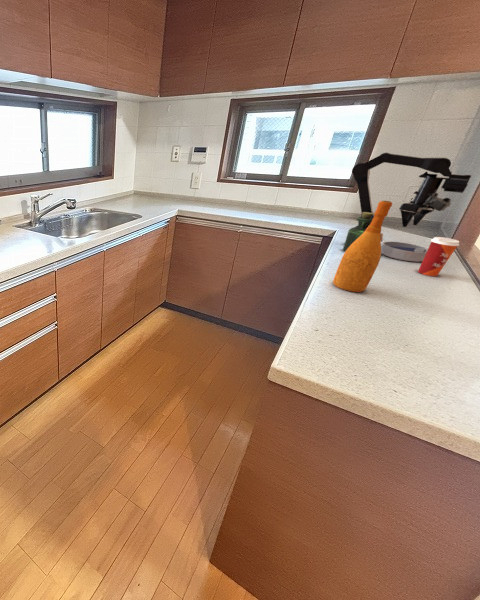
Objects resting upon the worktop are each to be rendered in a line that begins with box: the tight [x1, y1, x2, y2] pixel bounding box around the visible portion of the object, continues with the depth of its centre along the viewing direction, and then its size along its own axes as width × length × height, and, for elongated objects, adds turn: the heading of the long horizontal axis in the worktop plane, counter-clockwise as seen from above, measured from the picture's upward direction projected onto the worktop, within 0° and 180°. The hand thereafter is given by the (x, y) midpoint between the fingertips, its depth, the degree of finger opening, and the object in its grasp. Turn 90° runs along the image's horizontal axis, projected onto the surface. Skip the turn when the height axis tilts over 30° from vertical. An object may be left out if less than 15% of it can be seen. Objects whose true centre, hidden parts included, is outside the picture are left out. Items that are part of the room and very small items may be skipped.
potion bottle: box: [342, 212, 374, 253], centre depth 147 cm, size 8×8×18 cm
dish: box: [381, 240, 428, 263], centre depth 146 cm, size 16×16×4 cm
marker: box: [390, 246, 426, 252], centre depth 145 cm, size 3×3×12 cm
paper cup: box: [417, 236, 460, 277], centre depth 126 cm, size 8×8×14 cm
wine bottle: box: [332, 200, 393, 293], centre depth 108 cm, size 10×10×30 cm
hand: (409, 225), depth 145 cm, fingers open, 9 cm apart
